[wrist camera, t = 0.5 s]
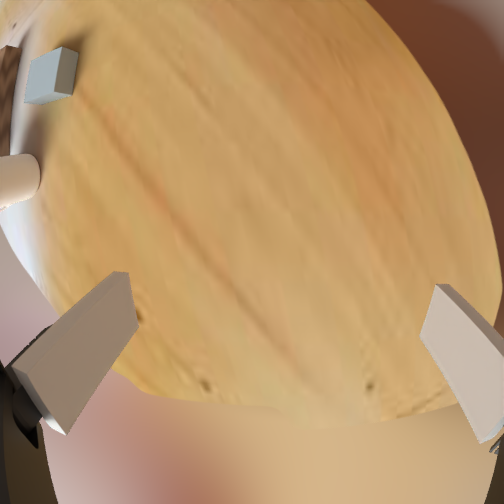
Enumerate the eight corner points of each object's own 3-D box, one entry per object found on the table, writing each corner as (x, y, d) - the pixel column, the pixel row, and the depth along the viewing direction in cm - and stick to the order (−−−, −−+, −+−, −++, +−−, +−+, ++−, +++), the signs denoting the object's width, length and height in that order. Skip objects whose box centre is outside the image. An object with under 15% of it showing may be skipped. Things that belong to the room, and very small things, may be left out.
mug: (7, 192, 38) (-31, 203, 28) (27, 144, 35) (-15, 148, 25) (25, 220, 40) (-14, 236, 30) (47, 172, 37) (3, 181, 27)
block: (48, 65, 30) (31, 60, 25) (79, 53, 30) (62, 46, 25) (42, 104, 33) (23, 103, 28) (72, 95, 32) (53, 91, 28)
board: (15, 52, 28) (-1, 49, 23) (22, 48, 28) (6, 45, 23) (3, 158, 36) (-15, 161, 31) (9, 156, 36) (-9, 159, 31)
